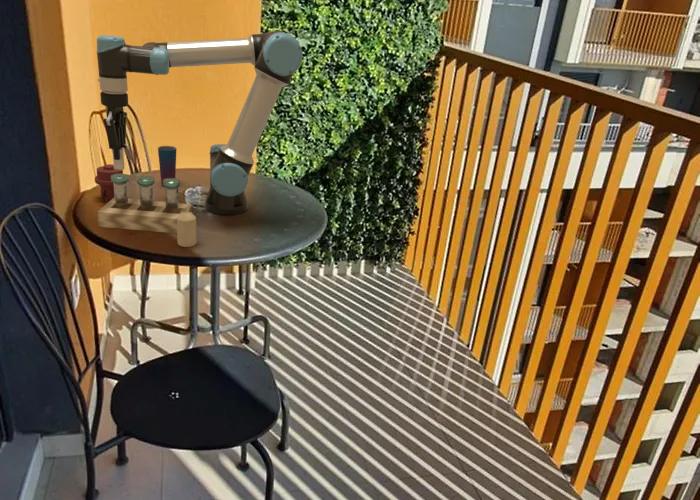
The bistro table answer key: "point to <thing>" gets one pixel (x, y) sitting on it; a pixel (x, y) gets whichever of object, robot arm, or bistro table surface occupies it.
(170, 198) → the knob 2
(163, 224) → the birch block
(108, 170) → the mechanical component
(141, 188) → the green lidded glass jar
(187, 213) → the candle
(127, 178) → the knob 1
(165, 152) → the cup
